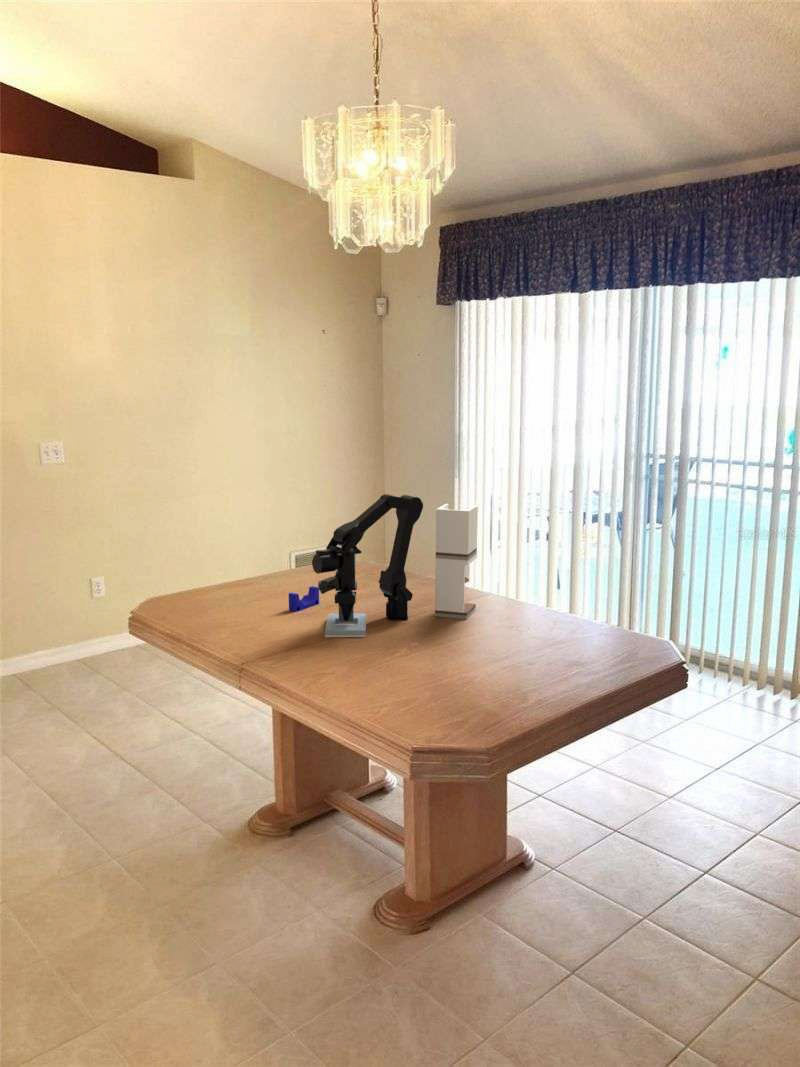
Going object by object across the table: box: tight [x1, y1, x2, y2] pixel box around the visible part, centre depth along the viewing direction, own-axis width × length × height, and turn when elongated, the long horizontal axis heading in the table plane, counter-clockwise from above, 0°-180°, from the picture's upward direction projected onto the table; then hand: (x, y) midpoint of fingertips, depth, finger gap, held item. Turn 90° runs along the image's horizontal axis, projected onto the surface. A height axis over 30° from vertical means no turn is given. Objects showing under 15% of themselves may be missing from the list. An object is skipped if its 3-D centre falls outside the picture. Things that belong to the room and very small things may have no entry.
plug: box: [338, 604, 355, 623], centre depth 267 cm, size 4×4×7 cm
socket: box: [324, 612, 367, 638], centre depth 268 cm, size 12×18×2 cm, turn 1°
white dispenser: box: [434, 503, 479, 620], centre depth 281 cm, size 11×11×35 cm
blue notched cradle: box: [288, 585, 320, 613], centre depth 290 cm, size 12×4×6 cm, turn 146°
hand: (346, 618), depth 267 cm, fingers closed on plug, 4 cm apart
